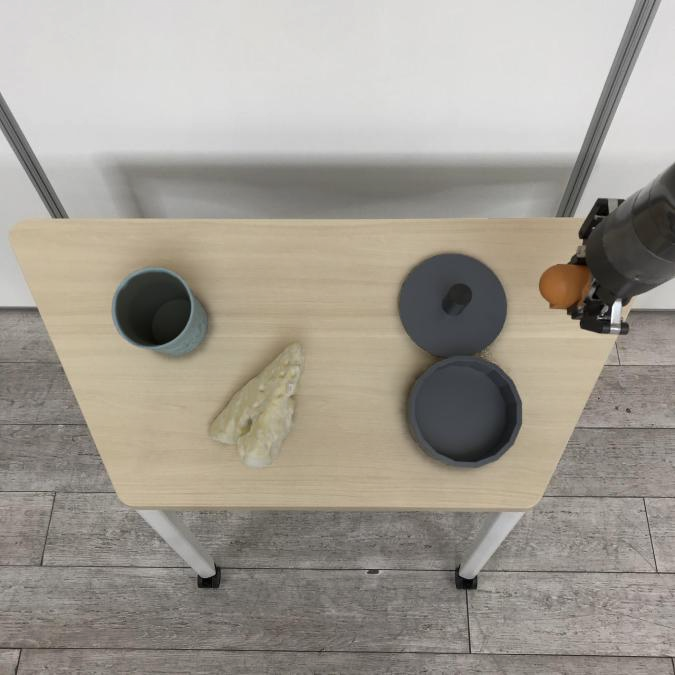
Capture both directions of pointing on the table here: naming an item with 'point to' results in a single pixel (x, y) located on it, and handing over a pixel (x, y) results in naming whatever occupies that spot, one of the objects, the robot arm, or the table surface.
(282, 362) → the cream rock
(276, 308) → the table surface
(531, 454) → the table surface
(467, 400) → the pot
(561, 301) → the bread
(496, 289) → the lid
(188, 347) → the blue cup
